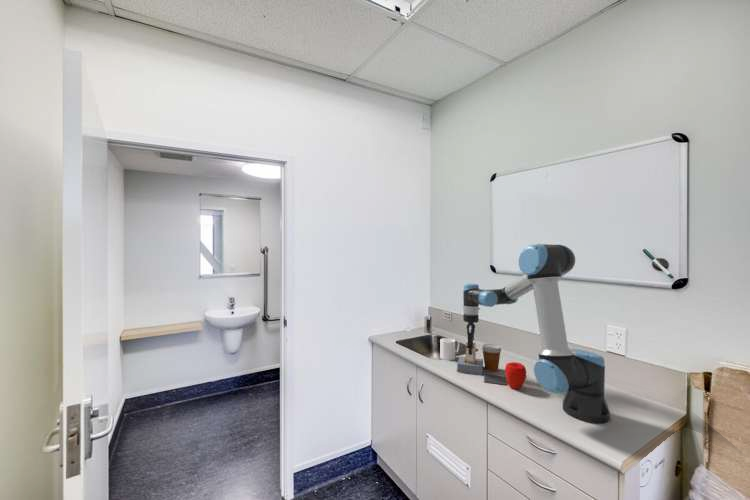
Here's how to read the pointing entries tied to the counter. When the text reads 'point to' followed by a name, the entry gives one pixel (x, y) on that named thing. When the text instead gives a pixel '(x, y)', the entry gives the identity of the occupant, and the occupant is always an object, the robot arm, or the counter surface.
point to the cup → (448, 348)
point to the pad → (495, 379)
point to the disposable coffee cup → (491, 356)
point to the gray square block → (470, 366)
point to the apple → (515, 374)
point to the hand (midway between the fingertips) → (470, 358)
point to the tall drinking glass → (473, 352)
